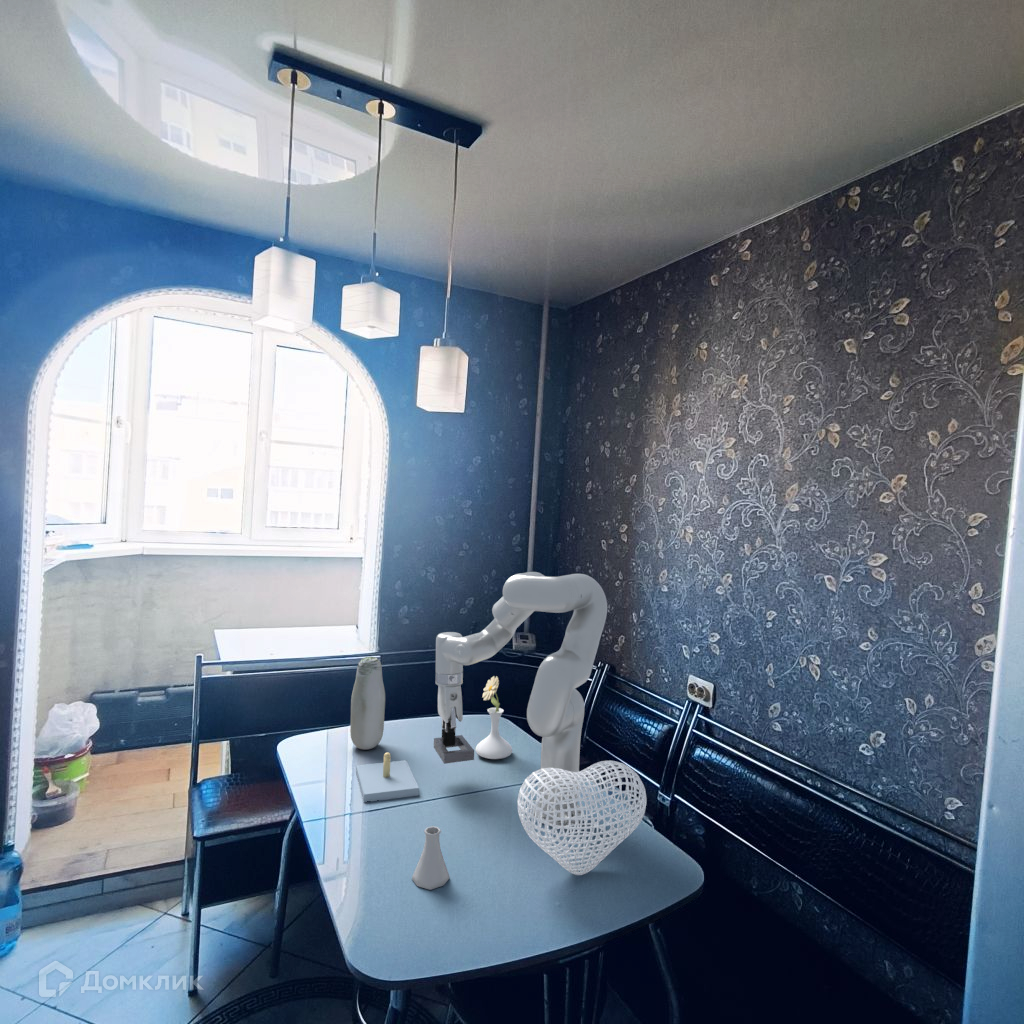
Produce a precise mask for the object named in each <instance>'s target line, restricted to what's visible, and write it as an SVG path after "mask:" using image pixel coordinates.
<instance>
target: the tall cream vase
mask: <svg viewBox="0 0 1024 1024" xmlns="http://www.w3.org/2000/svg"><path fill="white" fill-rule="evenodd" d="M382 669H383V667H382V663H381V661H380V659H378V658H377V657H375V656H365V657H363V658H362V659H360V661H359V662H358V663H357V668H356V674H355V681H354V684H353V688H352V691H351V692H352V693H351V696H350V697H351V699H350V725H349V726H350V729H349V731H350V739H351V741H352V743H353V745H354V746H355V747H356V748H357V749H359V750H363V751H366V750H371V749H373V748H375V747H377V746H378V745H379V744H380V742H381V741H382V739H383V736H384V730H385V729H384V728H385V709H386V690H385V685H384V681H383V670H382Z"/></svg>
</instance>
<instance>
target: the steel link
mask: <svg viewBox="0 0 1024 1024" xmlns="http://www.w3.org/2000/svg"><path fill="white" fill-rule="evenodd" d="M454 747H458V748H459V749H456V750H450V751H449V750H448V749H447V748H454ZM433 749H434V750H435V752H436V754H437V755H438V756H439V758H440V759H441V761H442V763H443V764H453V763H461V762H467V761H469V762H470V761H475V750H474V748H473V746H471V744H470V743H469V742H468V741H467V739H466V738H465V737H464V736H463V735H462V734H461V735H455V745H454V746H447V747H445V746H444V737H442V736H441V737H435V738H433Z"/></svg>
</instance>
